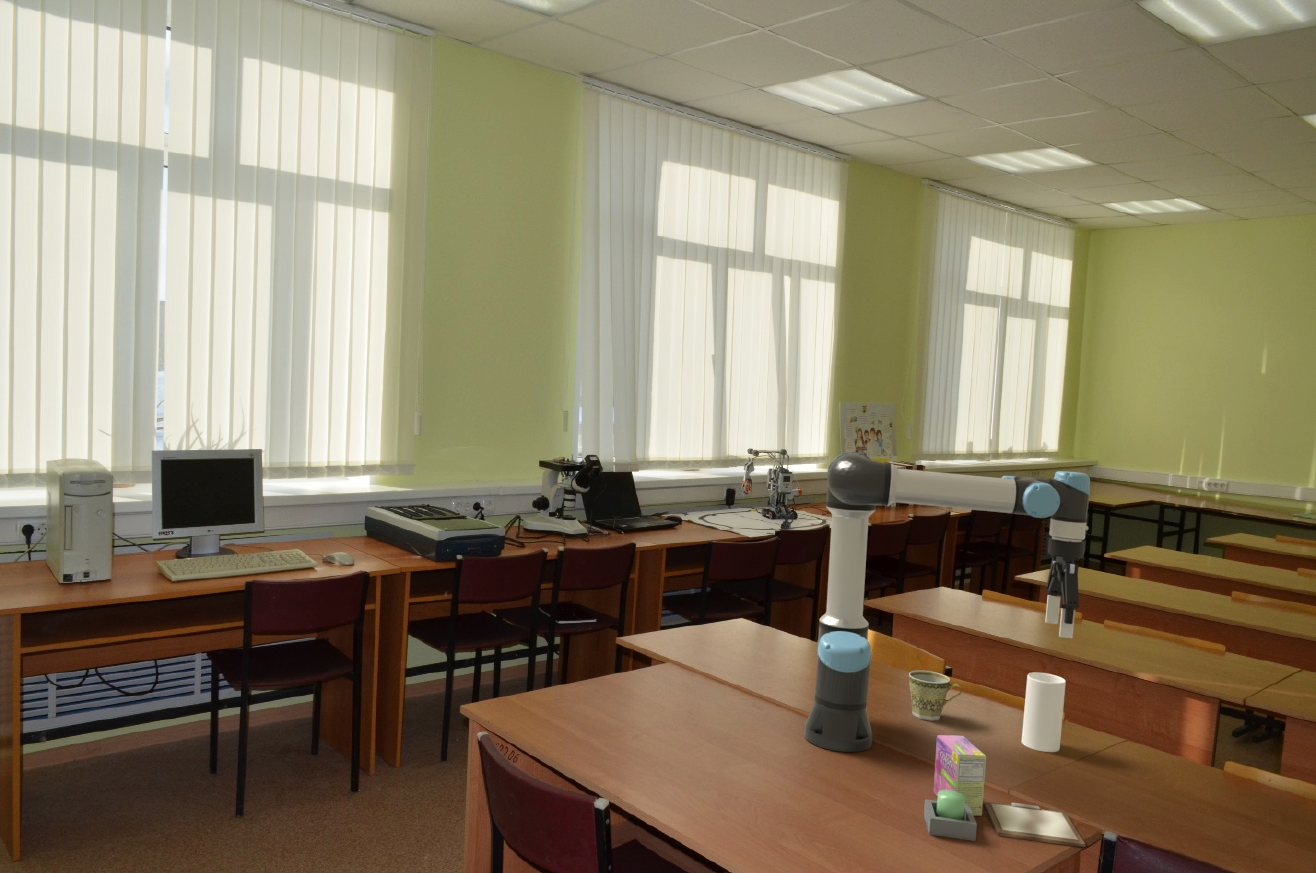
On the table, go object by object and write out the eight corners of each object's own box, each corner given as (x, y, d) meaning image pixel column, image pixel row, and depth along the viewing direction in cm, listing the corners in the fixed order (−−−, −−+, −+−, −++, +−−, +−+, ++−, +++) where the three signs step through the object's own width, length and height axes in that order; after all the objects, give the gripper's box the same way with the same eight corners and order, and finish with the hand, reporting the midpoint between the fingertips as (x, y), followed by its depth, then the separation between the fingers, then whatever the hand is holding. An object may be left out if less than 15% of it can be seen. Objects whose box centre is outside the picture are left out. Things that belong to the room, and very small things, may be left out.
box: (931, 792, 184) (936, 734, 184) (959, 793, 185) (964, 735, 184) (952, 816, 174) (958, 755, 173) (982, 817, 174) (987, 756, 174)
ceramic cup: (903, 718, 227) (906, 678, 227) (908, 706, 236) (911, 668, 236) (958, 728, 222) (961, 687, 222) (961, 716, 232) (964, 677, 231)
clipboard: (997, 835, 167) (998, 829, 167) (984, 804, 180) (984, 799, 180) (1085, 847, 165) (1085, 841, 165) (1065, 815, 178) (1065, 809, 178)
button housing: (929, 834, 166) (930, 818, 166) (923, 814, 174) (925, 799, 173) (975, 841, 164) (976, 824, 164) (967, 820, 172) (969, 805, 172)
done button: (937, 823, 167) (939, 799, 167) (934, 812, 172) (936, 788, 171) (965, 827, 166) (967, 803, 166) (960, 815, 171) (963, 791, 171)
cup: (1063, 754, 210) (1069, 685, 209) (1025, 749, 212) (1031, 680, 211) (1055, 741, 218) (1061, 675, 217) (1018, 736, 220) (1024, 670, 219)
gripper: (1099, 548, 199) (1090, 645, 200) (1070, 533, 223) (1062, 619, 224) (1063, 545, 200) (1053, 641, 201) (1037, 530, 225) (1029, 615, 226)
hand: (1058, 630), depth 213 cm, fingers open, 13 cm apart
